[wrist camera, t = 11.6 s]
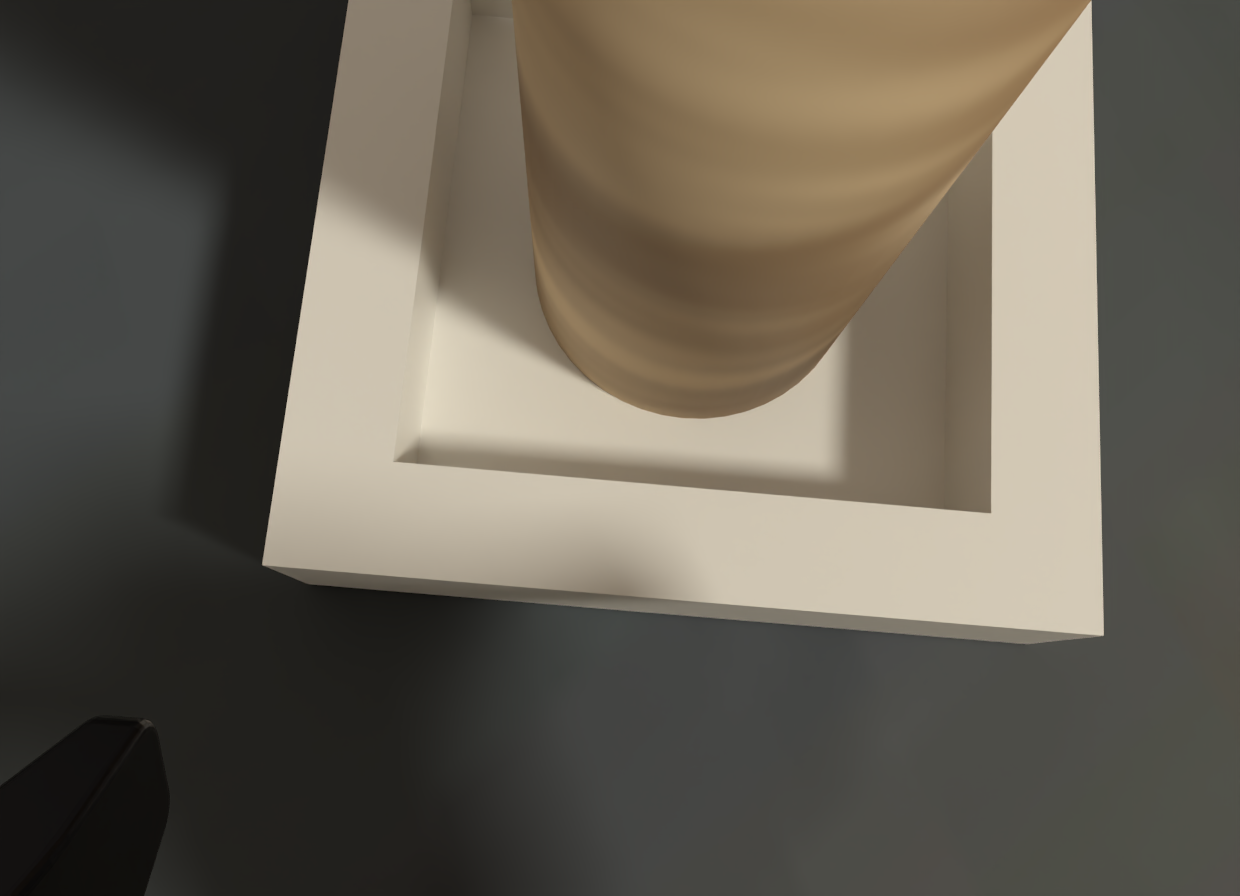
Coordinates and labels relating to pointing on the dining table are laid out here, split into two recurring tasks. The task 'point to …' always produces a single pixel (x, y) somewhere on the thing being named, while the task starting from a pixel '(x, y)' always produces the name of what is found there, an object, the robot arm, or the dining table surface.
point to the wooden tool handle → (746, 172)
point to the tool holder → (687, 447)
